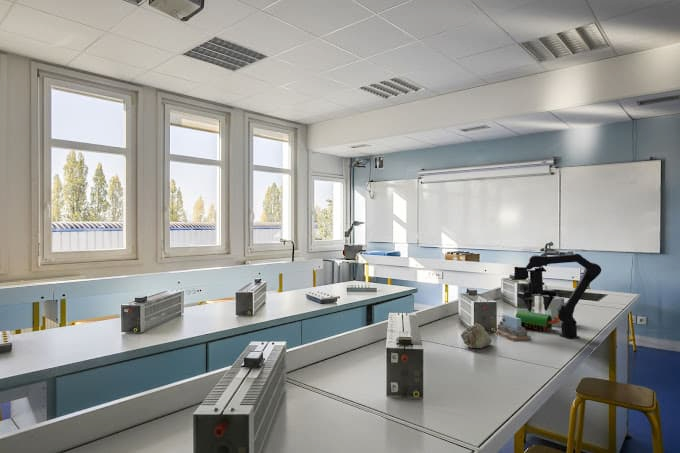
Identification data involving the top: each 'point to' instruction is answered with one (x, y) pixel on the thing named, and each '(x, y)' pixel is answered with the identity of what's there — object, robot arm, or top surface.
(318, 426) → the top surface
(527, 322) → the motor
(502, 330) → the cabinet base
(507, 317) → the cabinet door
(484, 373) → the top surface
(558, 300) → the circuit breaker
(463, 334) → the lumpy boulder
